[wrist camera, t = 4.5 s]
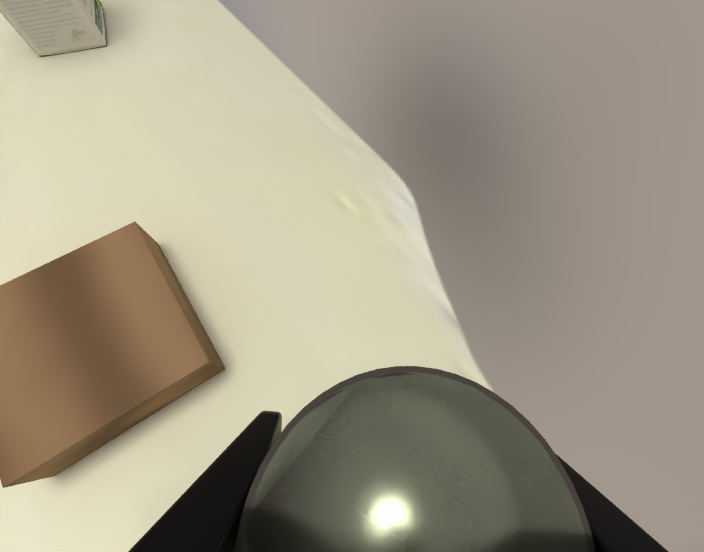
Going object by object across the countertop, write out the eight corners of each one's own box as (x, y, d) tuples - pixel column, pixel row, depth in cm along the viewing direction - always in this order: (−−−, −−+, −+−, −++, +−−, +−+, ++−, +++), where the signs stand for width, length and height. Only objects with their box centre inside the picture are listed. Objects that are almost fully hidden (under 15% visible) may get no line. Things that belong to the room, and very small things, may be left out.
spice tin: (346, 583, 12) (379, 992, 3) (271, 445, 13) (168, 500, 5) (458, 484, 13) (678, 608, 5) (379, 368, 15) (442, 309, 6)
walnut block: (53, 476, 18) (2, 487, 15) (0, 322, 21) (-50, 309, 18) (225, 368, 21) (208, 361, 18) (158, 244, 24) (135, 221, 21)
